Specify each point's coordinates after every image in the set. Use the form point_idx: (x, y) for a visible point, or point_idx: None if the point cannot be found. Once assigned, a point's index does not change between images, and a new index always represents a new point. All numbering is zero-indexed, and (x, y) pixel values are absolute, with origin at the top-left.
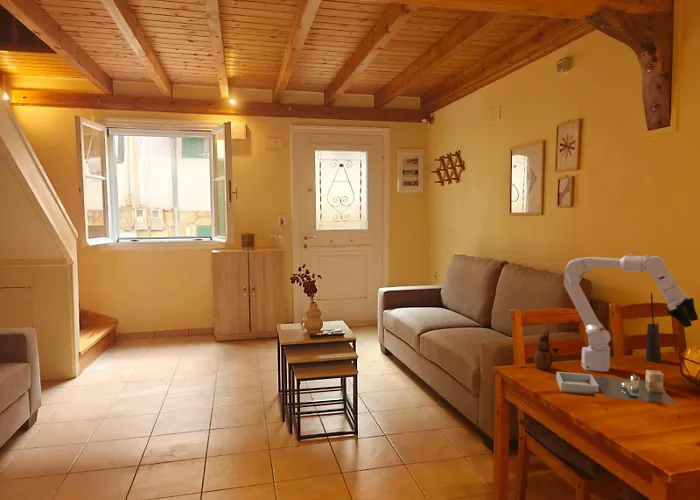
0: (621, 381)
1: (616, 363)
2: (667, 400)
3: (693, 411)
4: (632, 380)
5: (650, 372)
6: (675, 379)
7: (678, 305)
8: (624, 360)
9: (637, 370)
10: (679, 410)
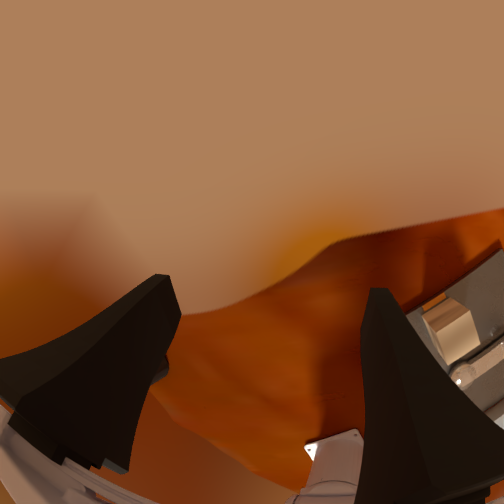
0: None
1: (246, 432)
2: (495, 271)
3: (499, 210)
4: None
5: (466, 347)
6: (278, 299)
7: (120, 462)
8: (207, 418)
9: (268, 390)
10: None
